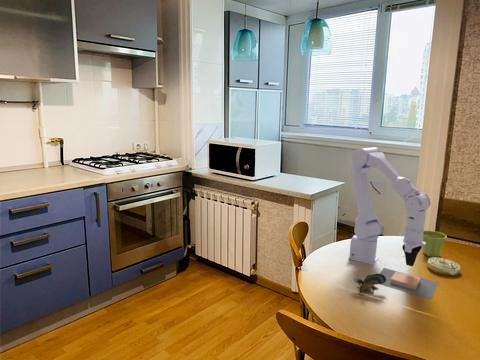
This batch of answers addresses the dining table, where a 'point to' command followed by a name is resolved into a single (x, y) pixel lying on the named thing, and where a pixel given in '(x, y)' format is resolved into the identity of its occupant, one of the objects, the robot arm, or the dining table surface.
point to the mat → (423, 289)
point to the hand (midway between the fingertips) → (409, 265)
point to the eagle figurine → (370, 282)
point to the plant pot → (433, 243)
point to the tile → (405, 280)
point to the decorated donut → (443, 266)
